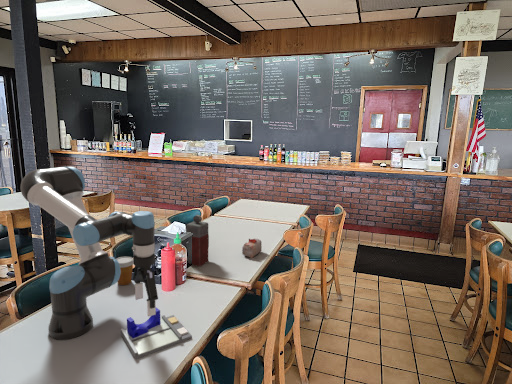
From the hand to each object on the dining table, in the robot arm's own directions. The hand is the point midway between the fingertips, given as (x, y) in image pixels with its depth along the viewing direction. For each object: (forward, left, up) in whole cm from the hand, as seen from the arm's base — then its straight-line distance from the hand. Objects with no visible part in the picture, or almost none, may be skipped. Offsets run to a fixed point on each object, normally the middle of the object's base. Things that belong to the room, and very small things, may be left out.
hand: (145, 306), depth 131 cm
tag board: (+5, +2, -11) cm, 12 cm away
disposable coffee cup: (-46, +5, -11) cm, 48 cm away
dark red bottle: (-50, +48, -11) cm, 70 cm away
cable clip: (0, 0, -9) cm, 9 cm away
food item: (-43, +81, -11) cm, 92 cm away
